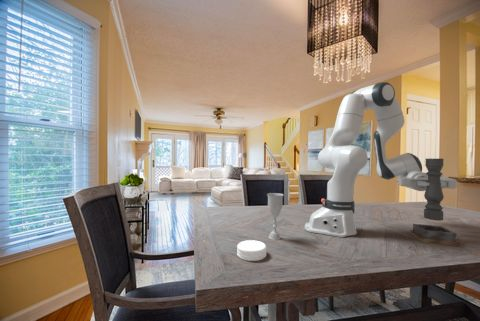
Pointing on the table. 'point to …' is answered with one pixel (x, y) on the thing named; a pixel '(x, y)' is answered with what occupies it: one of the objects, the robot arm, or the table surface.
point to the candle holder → (434, 190)
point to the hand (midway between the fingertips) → (435, 184)
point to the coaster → (251, 250)
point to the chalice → (274, 211)
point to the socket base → (434, 235)
